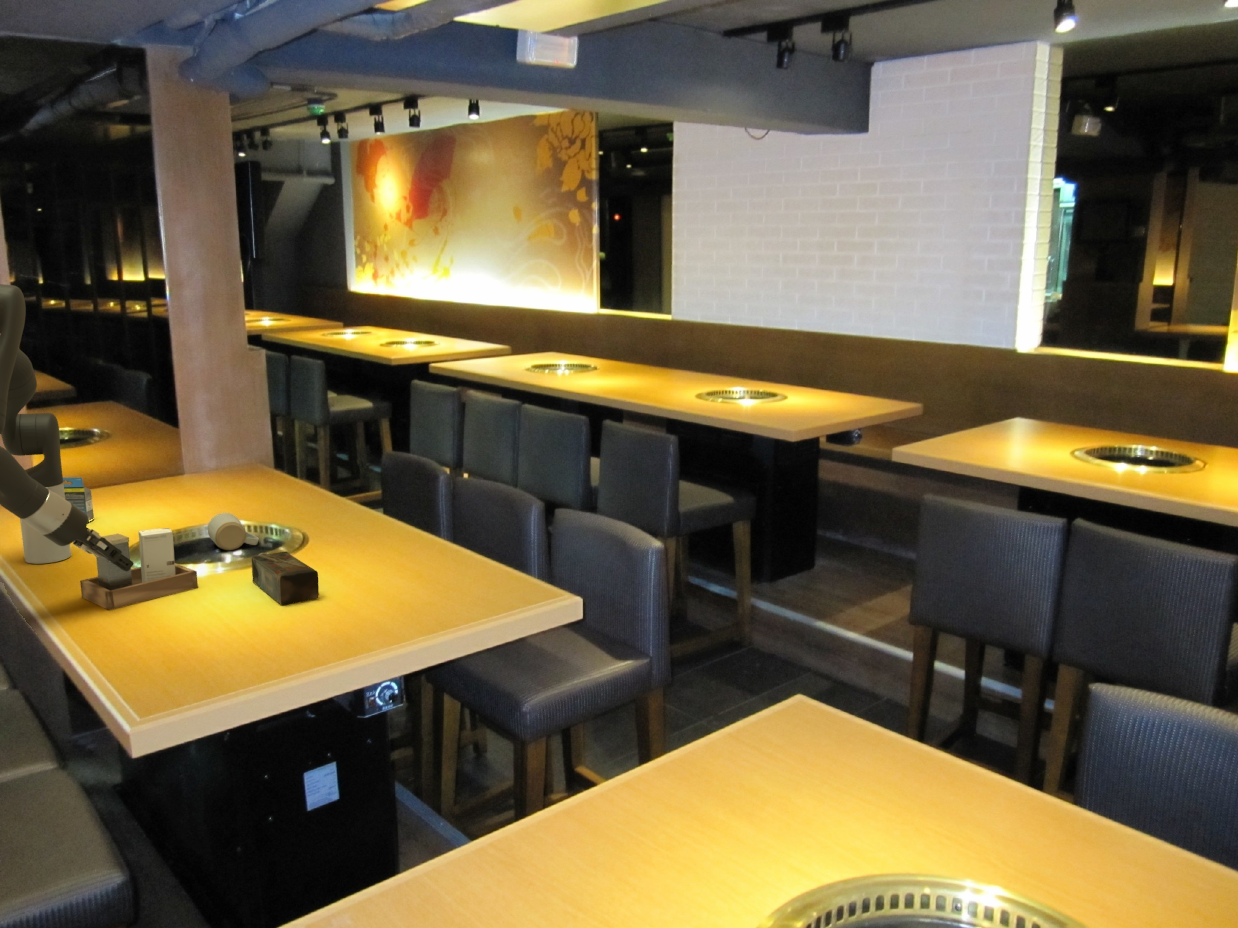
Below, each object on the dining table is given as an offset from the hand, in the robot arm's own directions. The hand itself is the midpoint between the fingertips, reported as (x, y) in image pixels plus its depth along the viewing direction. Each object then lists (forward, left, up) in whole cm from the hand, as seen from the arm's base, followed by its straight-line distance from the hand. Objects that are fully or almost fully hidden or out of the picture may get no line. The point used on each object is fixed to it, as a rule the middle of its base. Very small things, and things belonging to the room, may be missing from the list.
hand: (123, 564), depth 200 cm
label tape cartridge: (-70, +19, -7) cm, 73 cm away
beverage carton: (+21, +22, -7) cm, 32 cm away
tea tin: (0, -2, -4) cm, 5 cm away
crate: (0, +3, -6) cm, 7 cm away
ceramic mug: (-17, +33, -7) cm, 38 cm away
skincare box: (0, +7, -7) cm, 10 cm away
